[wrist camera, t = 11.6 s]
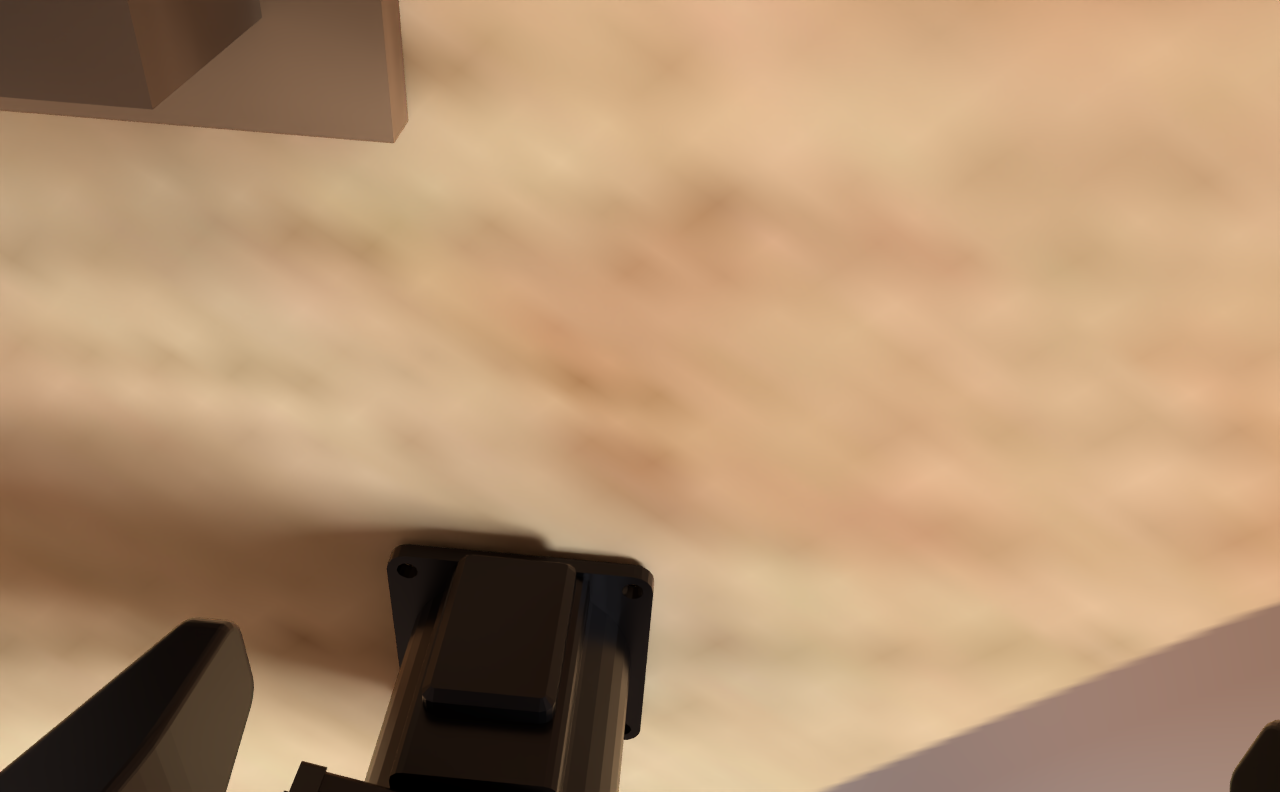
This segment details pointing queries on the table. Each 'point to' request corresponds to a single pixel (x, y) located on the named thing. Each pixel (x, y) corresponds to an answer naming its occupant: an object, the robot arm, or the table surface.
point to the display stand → (210, 64)
